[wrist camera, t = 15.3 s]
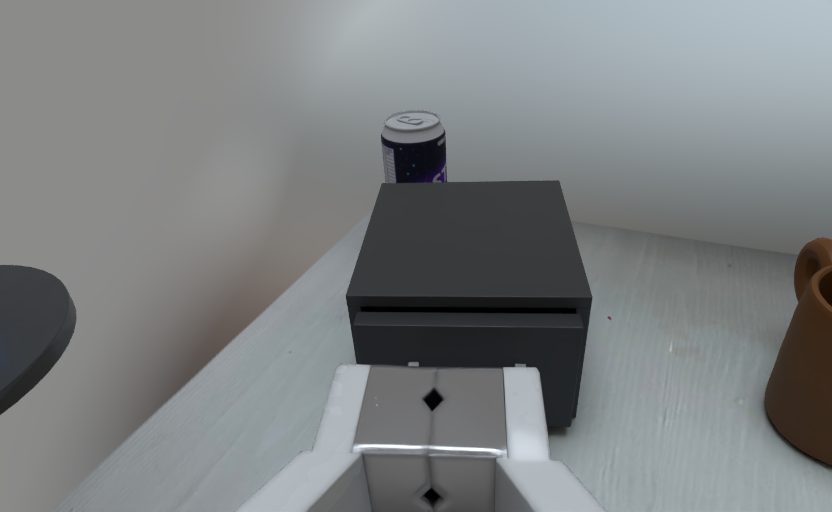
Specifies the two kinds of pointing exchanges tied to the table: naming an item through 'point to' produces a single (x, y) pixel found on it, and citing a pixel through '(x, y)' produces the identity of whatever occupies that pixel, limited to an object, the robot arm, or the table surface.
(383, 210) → the box
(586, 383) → the table surface
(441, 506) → the robot arm
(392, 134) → the beverage can
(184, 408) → the table surface
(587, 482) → the table surface
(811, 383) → the mug
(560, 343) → the drawer
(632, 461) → the table surface
